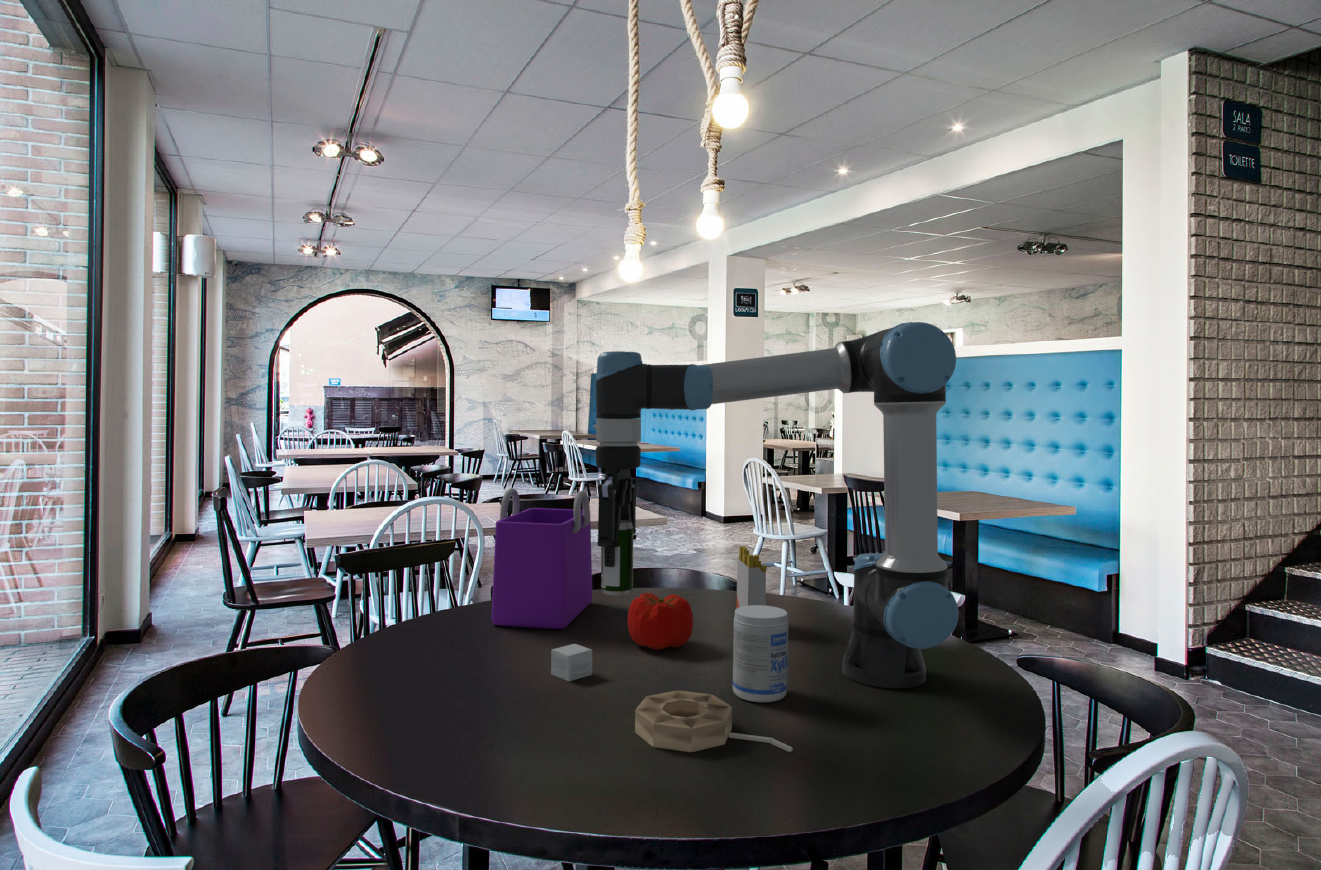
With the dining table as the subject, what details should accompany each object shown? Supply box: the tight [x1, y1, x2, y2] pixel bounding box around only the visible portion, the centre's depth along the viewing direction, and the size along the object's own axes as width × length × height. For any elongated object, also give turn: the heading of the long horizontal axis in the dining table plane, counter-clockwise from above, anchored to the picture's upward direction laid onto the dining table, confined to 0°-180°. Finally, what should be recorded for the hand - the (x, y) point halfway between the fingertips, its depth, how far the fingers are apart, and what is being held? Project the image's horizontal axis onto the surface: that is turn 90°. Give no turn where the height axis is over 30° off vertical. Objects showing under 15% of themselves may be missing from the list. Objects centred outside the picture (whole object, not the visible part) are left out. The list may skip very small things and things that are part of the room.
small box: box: [550, 643, 593, 682], centre depth 145 cm, size 6×6×5 cm
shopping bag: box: [491, 488, 593, 630], centre depth 186 cm, size 28×22×30 cm
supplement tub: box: [732, 605, 789, 703], centre depth 136 cm, size 10×10×15 cm
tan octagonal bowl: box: [634, 690, 733, 753], centre depth 120 cm, size 14×14×4 cm
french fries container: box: [736, 545, 768, 609], centre depth 177 cm, size 5×11×18 cm, turn 7°
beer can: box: [600, 519, 634, 597], centre depth 131 cm, size 5×5×12 cm
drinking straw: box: [728, 732, 793, 753], centre depth 116 cm, size 10×3×1 cm, turn 74°
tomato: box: [627, 592, 694, 651], centre depth 163 cm, size 14×13×10 cm
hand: (617, 581), depth 131 cm, fingers closed on beer can, 5 cm apart
